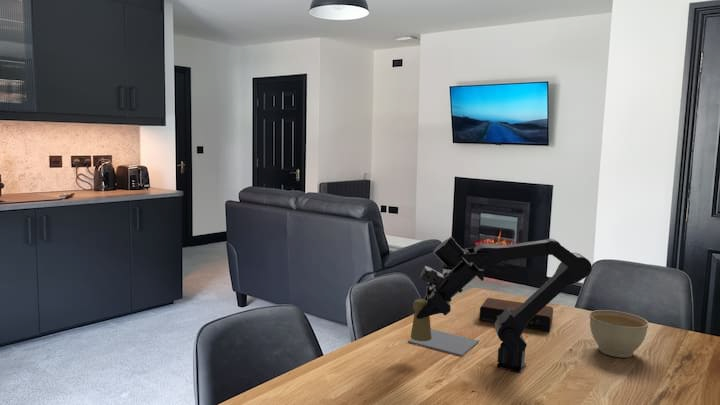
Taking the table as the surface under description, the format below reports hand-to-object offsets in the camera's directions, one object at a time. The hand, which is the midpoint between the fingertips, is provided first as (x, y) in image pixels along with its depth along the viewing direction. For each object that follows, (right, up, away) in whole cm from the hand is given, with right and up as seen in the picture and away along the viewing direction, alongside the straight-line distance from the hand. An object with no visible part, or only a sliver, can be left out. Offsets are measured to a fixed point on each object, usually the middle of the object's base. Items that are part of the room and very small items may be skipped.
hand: (416, 314), depth 150 cm
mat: (+10, -12, +15) cm, 22 cm away
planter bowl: (+62, -14, +11) cm, 65 cm away
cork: (+1, -7, +1) cm, 7 cm away
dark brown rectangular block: (+39, -11, +37) cm, 55 cm away
